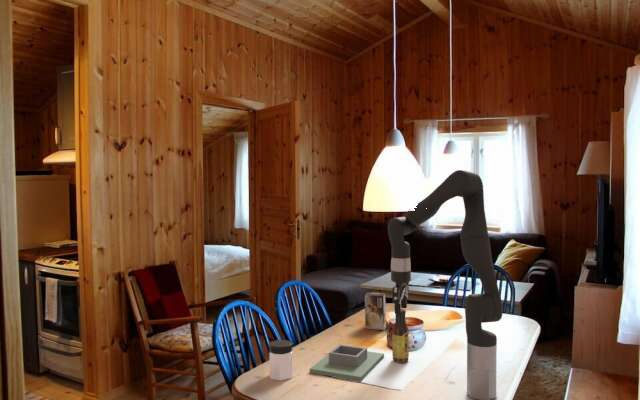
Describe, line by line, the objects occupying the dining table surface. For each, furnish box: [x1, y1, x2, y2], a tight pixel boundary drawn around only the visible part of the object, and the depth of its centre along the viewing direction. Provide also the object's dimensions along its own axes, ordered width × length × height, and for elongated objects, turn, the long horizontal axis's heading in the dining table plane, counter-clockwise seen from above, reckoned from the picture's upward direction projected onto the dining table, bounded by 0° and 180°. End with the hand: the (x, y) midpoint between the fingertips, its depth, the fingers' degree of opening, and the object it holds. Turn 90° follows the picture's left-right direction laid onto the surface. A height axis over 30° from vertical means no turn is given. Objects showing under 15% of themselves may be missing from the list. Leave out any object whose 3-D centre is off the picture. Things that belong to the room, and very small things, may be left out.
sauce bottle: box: [391, 308, 410, 364], centre depth 205 cm, size 7×6×20 cm
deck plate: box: [309, 344, 385, 382], centre depth 201 cm, size 26×20×6 cm
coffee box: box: [364, 291, 387, 331], centre depth 249 cm, size 9×6×16 cm
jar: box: [268, 339, 293, 382], centre depth 191 cm, size 9×8×12 cm
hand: (400, 310), depth 204 cm, fingers open, 8 cm apart
